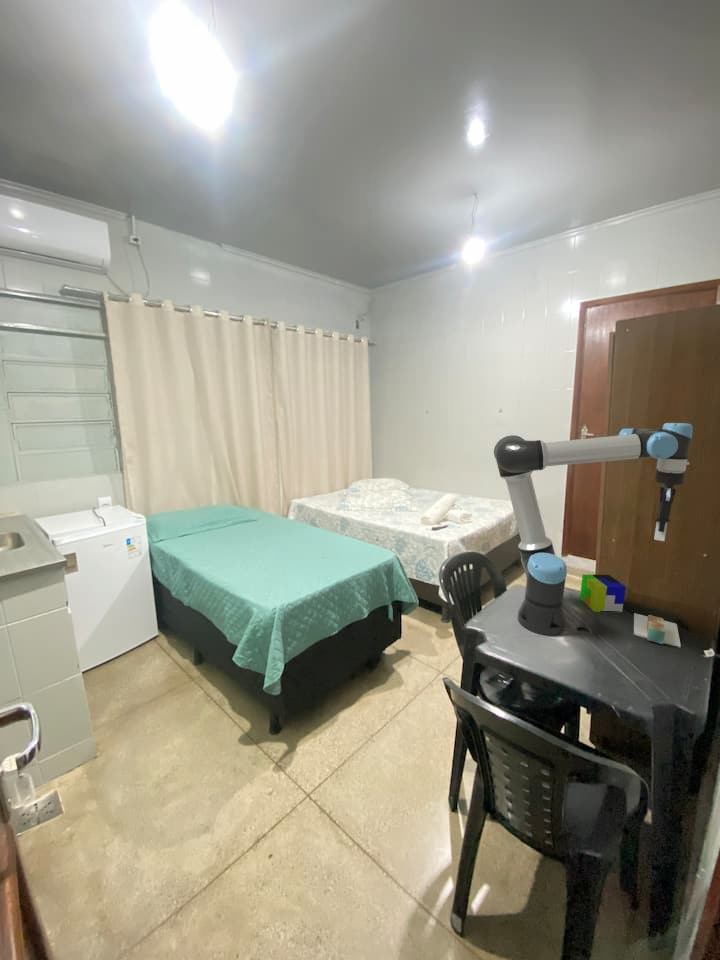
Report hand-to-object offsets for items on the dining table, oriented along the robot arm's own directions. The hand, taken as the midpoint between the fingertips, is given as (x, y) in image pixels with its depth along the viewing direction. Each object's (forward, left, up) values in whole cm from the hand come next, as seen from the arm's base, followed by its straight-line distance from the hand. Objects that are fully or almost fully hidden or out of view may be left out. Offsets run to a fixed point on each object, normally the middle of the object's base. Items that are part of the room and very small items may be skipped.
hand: (659, 539), depth 133 cm
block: (+2, -6, -27) cm, 28 cm away
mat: (+2, -7, -29) cm, 30 cm away
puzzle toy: (-14, +2, -30) cm, 33 cm away
